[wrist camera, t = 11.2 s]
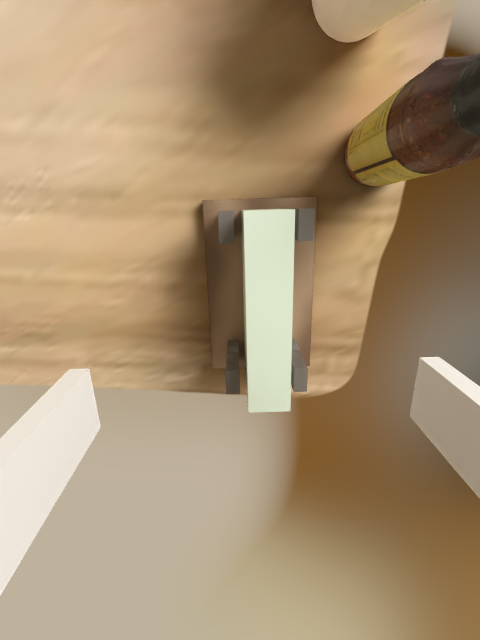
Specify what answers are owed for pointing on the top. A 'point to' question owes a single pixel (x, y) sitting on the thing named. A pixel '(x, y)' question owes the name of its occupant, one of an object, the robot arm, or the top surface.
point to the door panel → (268, 306)
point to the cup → (358, 16)
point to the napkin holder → (228, 283)
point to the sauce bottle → (420, 126)
